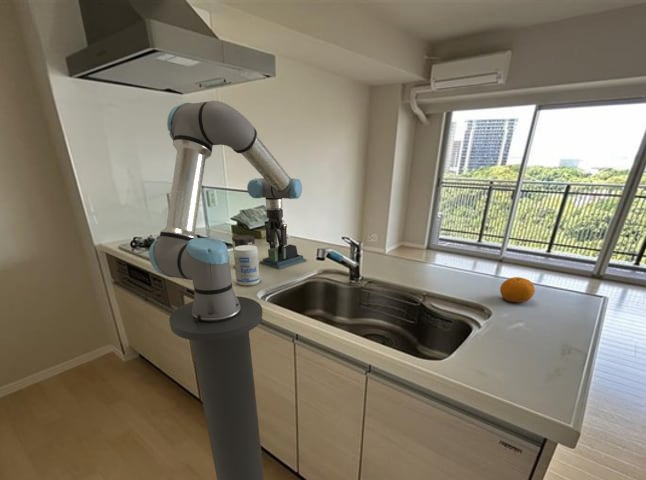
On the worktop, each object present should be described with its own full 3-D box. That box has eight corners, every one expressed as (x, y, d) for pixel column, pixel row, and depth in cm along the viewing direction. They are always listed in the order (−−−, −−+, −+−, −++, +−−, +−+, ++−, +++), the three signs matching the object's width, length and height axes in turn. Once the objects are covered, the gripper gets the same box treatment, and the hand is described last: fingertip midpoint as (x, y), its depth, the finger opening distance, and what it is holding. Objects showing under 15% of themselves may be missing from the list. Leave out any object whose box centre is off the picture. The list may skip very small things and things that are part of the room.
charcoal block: (288, 260, 166) (285, 251, 163) (281, 258, 169) (279, 249, 166) (298, 254, 170) (296, 245, 167) (291, 253, 173) (289, 244, 170)
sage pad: (275, 261, 160) (274, 251, 158) (268, 259, 163) (267, 249, 161) (286, 258, 164) (285, 248, 162) (279, 256, 168) (279, 246, 165)
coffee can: (261, 266, 162) (258, 236, 156) (243, 270, 155) (240, 240, 149) (247, 262, 168) (245, 233, 162) (230, 266, 161) (227, 237, 155)
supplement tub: (242, 288, 134) (238, 251, 128) (233, 281, 141) (229, 247, 135) (264, 283, 139) (261, 248, 133) (254, 277, 146) (251, 243, 140)
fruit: (491, 297, 123) (496, 276, 119) (513, 293, 126) (518, 272, 122) (515, 307, 114) (521, 285, 110) (538, 303, 117) (545, 281, 113)
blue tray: (279, 268, 157) (278, 263, 156) (260, 263, 166) (260, 258, 165) (306, 260, 169) (306, 256, 167) (287, 256, 177) (287, 251, 176)
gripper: (293, 209, 150) (295, 260, 160) (268, 206, 162) (271, 253, 172) (281, 211, 145) (283, 263, 156) (255, 207, 157) (259, 256, 167)
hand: (277, 258), depth 164 cm, fingers closed on sage pad, 5 cm apart
